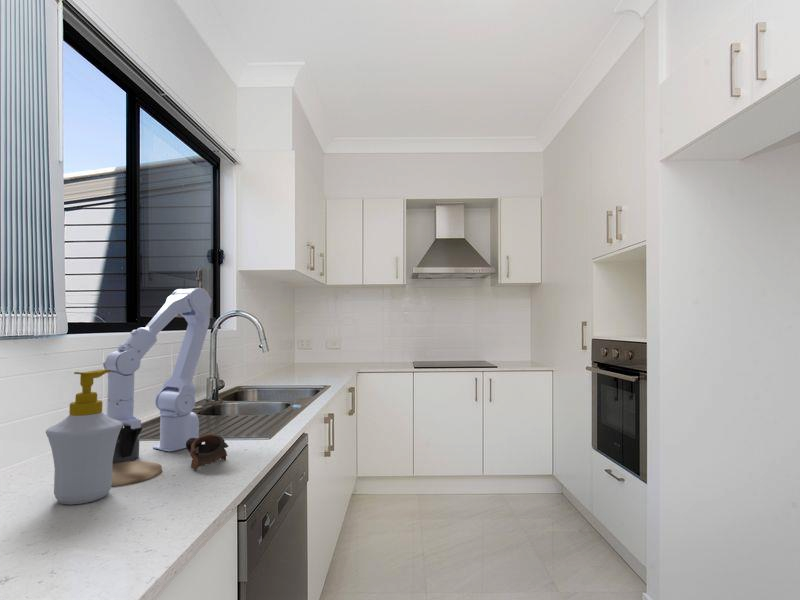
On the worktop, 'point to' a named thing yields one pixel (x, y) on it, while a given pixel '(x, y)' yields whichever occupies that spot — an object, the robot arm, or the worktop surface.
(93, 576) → the worktop surface
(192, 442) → the dark brown lumpy piece
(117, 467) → the round copper disc
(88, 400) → the soap bottle
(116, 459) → the dark grey rounded block
